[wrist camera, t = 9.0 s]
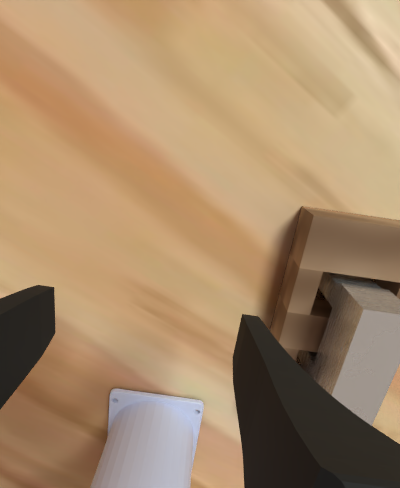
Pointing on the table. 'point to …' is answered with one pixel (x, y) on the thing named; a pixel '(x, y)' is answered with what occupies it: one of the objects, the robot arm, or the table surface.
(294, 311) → the walnut mortise block
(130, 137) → the table surface
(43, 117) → the table surface
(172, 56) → the table surface
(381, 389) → the grey arch block
